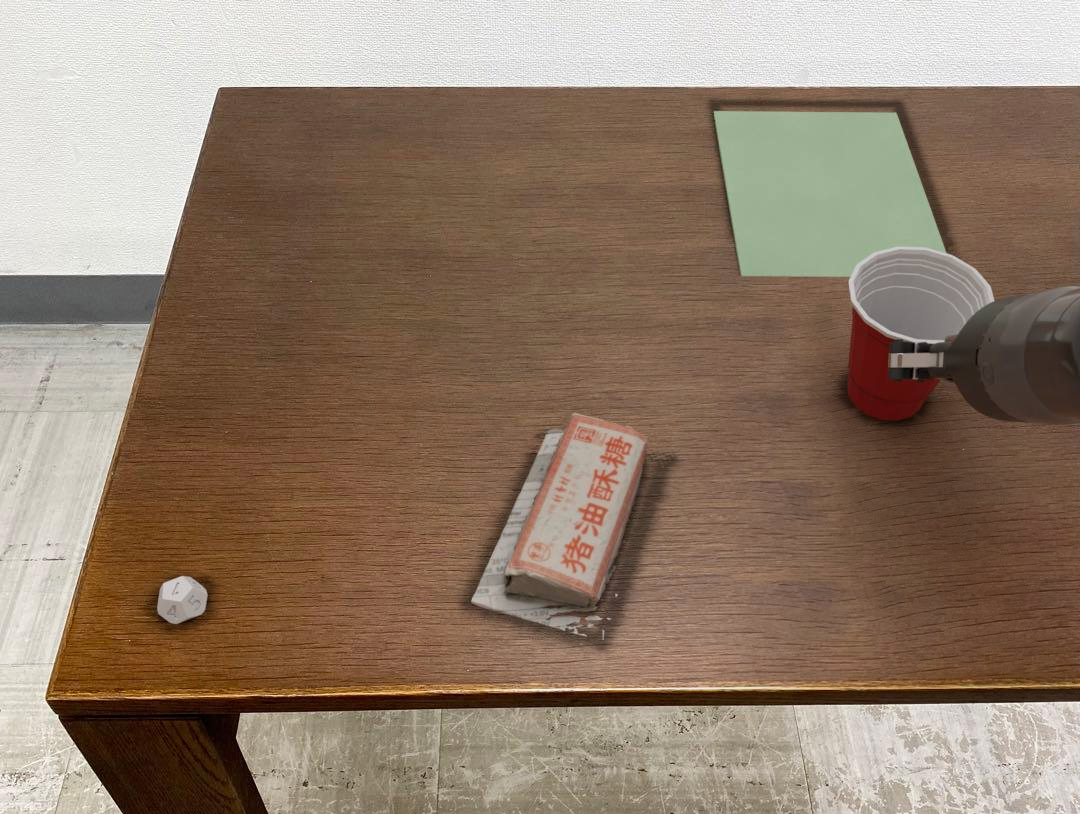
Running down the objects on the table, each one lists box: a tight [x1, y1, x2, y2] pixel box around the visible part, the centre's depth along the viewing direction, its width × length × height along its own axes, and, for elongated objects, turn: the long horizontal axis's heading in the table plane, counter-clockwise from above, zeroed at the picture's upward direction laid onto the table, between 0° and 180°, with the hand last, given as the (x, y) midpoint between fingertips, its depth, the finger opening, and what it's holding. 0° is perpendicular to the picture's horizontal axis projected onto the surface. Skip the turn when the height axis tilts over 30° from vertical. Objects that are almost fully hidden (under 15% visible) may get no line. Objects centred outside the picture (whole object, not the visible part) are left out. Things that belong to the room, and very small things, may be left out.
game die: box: [156, 575, 208, 625], centre depth 73 cm, size 4×4×3 cm
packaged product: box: [470, 412, 648, 639], centre depth 77 cm, size 18×5×10 cm
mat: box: [713, 110, 947, 278], centre depth 103 cm, size 20×32×1 cm, turn 0°
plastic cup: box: [846, 246, 995, 422], centre depth 82 cm, size 11×11×12 cm
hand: (932, 364), depth 76 cm, fingers closed
